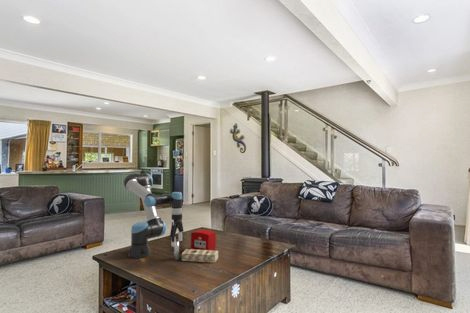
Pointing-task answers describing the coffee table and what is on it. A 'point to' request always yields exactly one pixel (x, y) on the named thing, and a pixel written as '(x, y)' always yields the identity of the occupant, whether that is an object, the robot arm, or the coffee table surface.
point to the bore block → (200, 255)
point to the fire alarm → (203, 240)
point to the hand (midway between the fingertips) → (176, 243)
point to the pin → (176, 251)
